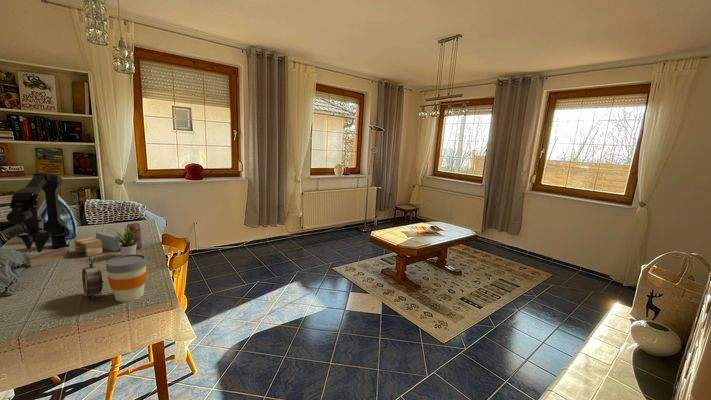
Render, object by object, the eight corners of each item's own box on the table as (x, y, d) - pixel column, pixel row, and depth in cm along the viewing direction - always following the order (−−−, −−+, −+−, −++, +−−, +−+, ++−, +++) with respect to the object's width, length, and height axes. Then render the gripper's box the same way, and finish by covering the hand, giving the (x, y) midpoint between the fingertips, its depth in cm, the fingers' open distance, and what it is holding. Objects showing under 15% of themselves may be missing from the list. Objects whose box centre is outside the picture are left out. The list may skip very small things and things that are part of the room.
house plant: (154, 254, 156) (151, 225, 154) (124, 263, 144) (121, 231, 141) (138, 249, 162) (135, 221, 159) (108, 257, 150) (105, 226, 147)
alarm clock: (83, 293, 115) (78, 254, 112) (101, 289, 119) (96, 251, 116) (87, 304, 108) (82, 262, 105) (106, 298, 112) (102, 258, 109)
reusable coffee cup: (117, 307, 106) (113, 269, 104) (103, 297, 113) (99, 260, 110) (155, 294, 117) (152, 258, 114) (140, 285, 123) (138, 251, 121)
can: (135, 250, 160) (132, 226, 158) (125, 249, 162) (123, 225, 159) (144, 247, 166) (143, 223, 164) (135, 246, 167) (133, 222, 165)
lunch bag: (37, 235, 177) (31, 193, 173) (75, 230, 190) (70, 190, 185) (39, 244, 163) (33, 198, 159) (80, 238, 176) (75, 195, 171)
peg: (25, 266, 136) (24, 258, 135) (64, 255, 150) (63, 248, 150) (31, 267, 135) (30, 259, 134) (69, 256, 149) (68, 249, 149)
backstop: (97, 246, 164) (95, 232, 162) (101, 245, 166) (99, 232, 164) (115, 251, 158) (113, 237, 157) (119, 250, 160) (118, 236, 159)
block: (75, 253, 153) (73, 240, 151) (90, 249, 159) (89, 236, 157) (87, 256, 149) (86, 243, 148) (102, 252, 155) (101, 240, 154)
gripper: (-7, 219, 131) (-2, 252, 133) (14, 225, 124) (20, 259, 127) (27, 214, 141) (32, 245, 144) (49, 219, 134) (54, 251, 137)
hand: (34, 250), depth 138 cm, fingers open, 9 cm apart
